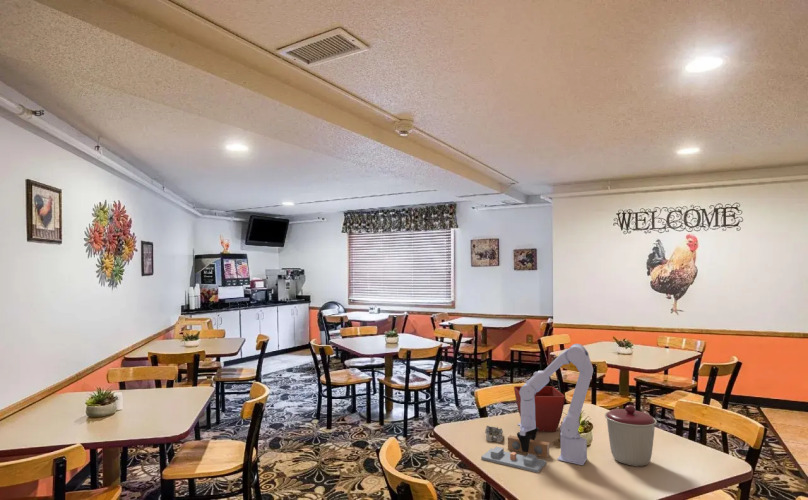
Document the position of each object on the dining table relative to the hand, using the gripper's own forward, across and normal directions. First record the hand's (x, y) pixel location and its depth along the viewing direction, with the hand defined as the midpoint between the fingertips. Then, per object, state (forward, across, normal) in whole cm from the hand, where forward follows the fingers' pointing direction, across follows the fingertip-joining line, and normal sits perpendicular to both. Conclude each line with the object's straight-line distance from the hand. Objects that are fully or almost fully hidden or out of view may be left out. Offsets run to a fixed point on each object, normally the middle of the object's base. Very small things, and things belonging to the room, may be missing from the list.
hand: (528, 448), depth 188 cm
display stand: (+1, +12, -2) cm, 12 cm away
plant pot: (+2, -32, -5) cm, 32 cm away
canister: (+2, -13, +36) cm, 38 cm away
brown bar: (+2, 0, 0) cm, 2 cm away
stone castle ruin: (+2, -8, -18) cm, 20 cm away
